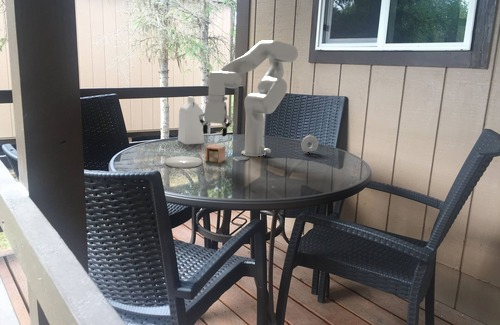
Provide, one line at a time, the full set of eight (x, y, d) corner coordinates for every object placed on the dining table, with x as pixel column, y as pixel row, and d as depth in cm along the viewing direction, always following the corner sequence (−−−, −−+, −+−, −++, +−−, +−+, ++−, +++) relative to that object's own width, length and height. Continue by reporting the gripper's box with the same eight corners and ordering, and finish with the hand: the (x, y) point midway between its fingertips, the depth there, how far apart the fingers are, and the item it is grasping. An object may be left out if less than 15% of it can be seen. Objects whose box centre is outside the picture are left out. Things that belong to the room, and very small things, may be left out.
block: (221, 160, 203) (221, 150, 202) (217, 162, 199) (218, 152, 198) (213, 159, 204) (213, 149, 203) (209, 161, 200) (209, 151, 199)
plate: (208, 161, 200) (208, 158, 199) (191, 169, 184) (191, 166, 184) (176, 157, 205) (176, 154, 205) (158, 164, 189) (158, 162, 189)
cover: (225, 159, 204) (225, 145, 202) (219, 163, 197) (219, 148, 196) (211, 158, 206) (211, 144, 204) (205, 161, 200) (205, 146, 198)
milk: (177, 140, 246) (177, 95, 240) (196, 139, 251) (196, 95, 245) (184, 144, 236) (184, 98, 229) (203, 143, 241) (204, 97, 235)
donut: (315, 152, 229) (316, 134, 227) (318, 153, 226) (320, 135, 224) (299, 153, 226) (300, 134, 223) (302, 154, 222) (303, 136, 220)
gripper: (236, 99, 195) (234, 135, 199) (202, 96, 200) (201, 132, 204) (230, 100, 188) (228, 138, 192) (195, 97, 194) (194, 134, 197)
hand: (214, 134), depth 198 cm, fingers open, 9 cm apart
